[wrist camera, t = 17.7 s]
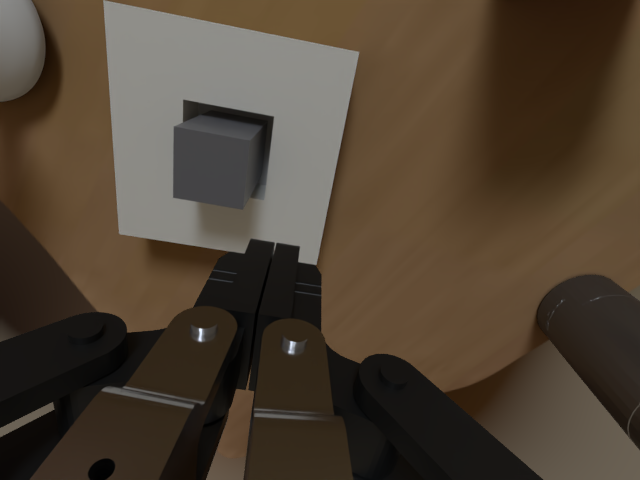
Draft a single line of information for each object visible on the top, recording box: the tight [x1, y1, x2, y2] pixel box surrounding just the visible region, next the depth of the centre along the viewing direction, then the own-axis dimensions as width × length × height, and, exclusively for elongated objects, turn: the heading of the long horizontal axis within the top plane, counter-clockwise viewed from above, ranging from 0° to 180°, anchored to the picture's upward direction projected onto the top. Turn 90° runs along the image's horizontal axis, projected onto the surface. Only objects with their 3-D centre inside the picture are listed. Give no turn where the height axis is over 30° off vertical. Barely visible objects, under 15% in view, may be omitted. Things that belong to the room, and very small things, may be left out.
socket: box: [103, 0, 359, 265], centre depth 32 cm, size 18×18×5 cm
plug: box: [173, 110, 268, 210], centre depth 29 cm, size 5×5×9 cm
